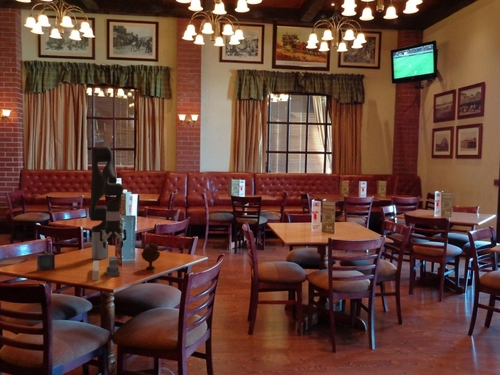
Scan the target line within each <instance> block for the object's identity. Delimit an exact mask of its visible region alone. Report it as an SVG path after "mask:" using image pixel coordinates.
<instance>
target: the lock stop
mask: <svg viewBox="0 0 500 375" xmlns="http://www.w3.org/2000/svg"><path fill="white" fill-rule="evenodd" d="M117 258H118V257H117V256H116V255H114V256H113V255H112V256H111V255H110V256H108V267H109V272H117V266H118V259H117Z"/></svg>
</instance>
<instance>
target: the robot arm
mask: <svg viewBox="0 0 500 375" xmlns="http://www.w3.org/2000/svg"><path fill="white" fill-rule="evenodd" d="M113 158H114V157H113V152H112V149H111V148H110V146H94V147H92V149H91V178H90V179H91V180H90V202H89V203H90V205H89V215H88V216H89V219H90V221H92V222H100V221H101V222H100V223H99V224H97V225H94V226H92V227H91V259H93V260H104V259H108V258H109V242H108V239H109V238H118V239H119V240H120V243H119V244H120V246H119V248H120V249H122V248H123V247H124V241H126V240H127V229H126V228H124V229H121V201H122V196H123V193H124V186H123V184H122V183H119V182H118V180H117V176H116V172H115V167H114V159H113ZM99 163H106V164H105V166H104V168H102V171H101V168H100V167H99ZM117 182H118V183H117ZM104 195H105V196H106V197H114V199H111V200H108V201H106V206H105V205H99V206H97V204H98V202H99V201H100V199H101V198H103V196H104ZM121 233H122V234H123V237H122V236H121Z"/></svg>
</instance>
